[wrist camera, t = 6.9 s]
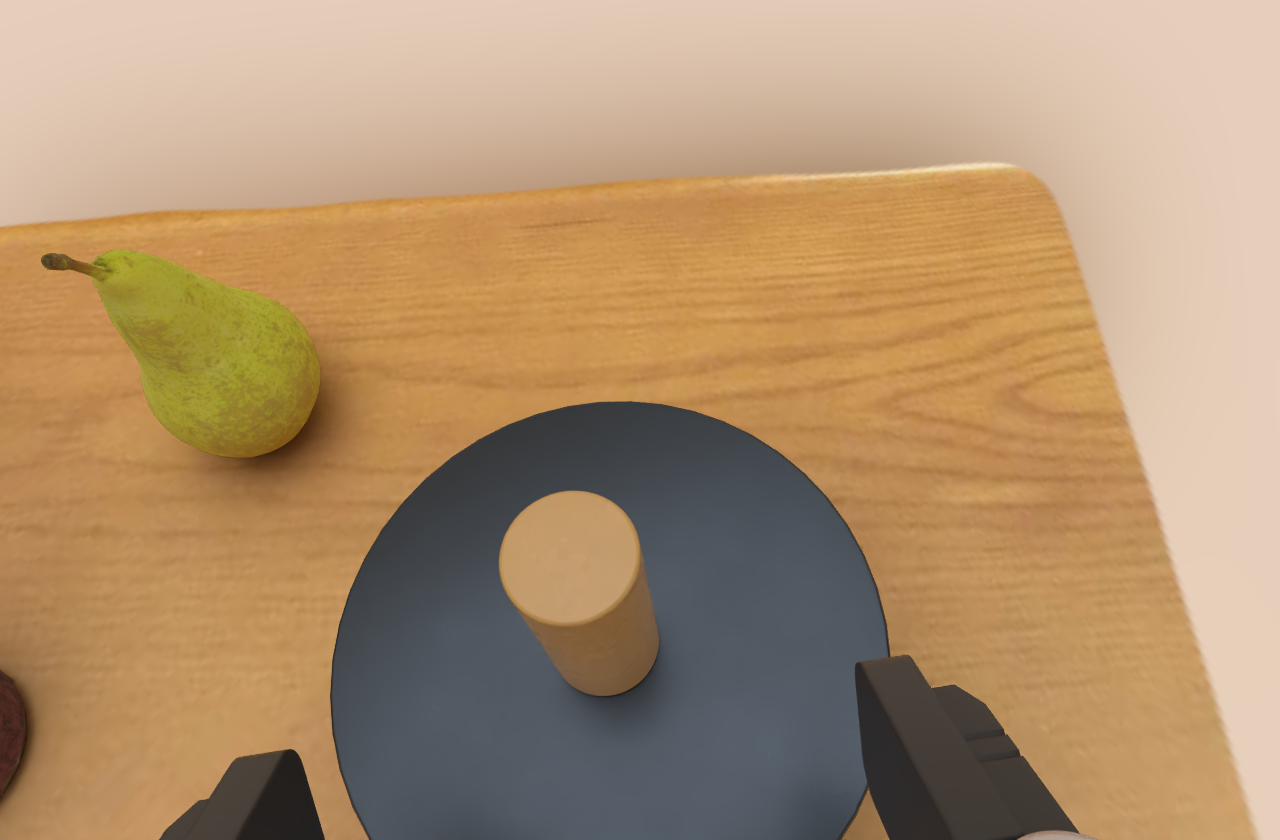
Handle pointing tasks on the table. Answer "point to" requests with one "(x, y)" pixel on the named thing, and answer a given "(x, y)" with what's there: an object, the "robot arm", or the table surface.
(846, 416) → the table surface
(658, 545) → the lid
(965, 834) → the robot arm
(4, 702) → the can
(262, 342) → the fruit
